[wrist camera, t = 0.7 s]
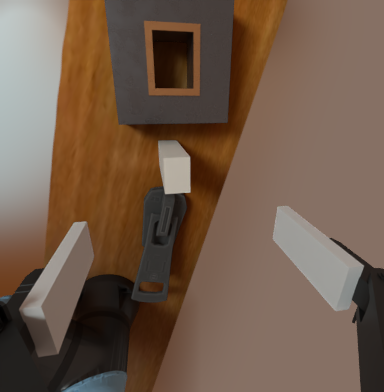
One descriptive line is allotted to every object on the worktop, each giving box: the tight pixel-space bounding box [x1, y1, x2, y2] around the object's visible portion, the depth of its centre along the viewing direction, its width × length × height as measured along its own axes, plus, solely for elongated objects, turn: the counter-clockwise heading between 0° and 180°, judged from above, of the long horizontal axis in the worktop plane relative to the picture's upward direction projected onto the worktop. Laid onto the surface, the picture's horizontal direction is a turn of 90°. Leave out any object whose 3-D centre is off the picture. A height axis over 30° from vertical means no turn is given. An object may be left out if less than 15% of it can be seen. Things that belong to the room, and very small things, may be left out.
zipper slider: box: [131, 186, 187, 302], centre depth 49 cm, size 9×7×25 cm
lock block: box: [105, 0, 234, 124], centre depth 37 cm, size 18×18×6 cm
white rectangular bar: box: [158, 140, 190, 194], centre depth 38 cm, size 5×4×16 cm
